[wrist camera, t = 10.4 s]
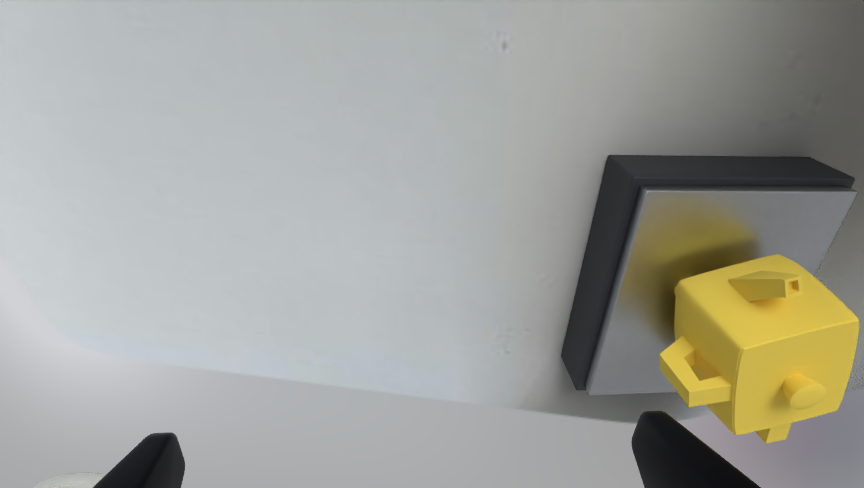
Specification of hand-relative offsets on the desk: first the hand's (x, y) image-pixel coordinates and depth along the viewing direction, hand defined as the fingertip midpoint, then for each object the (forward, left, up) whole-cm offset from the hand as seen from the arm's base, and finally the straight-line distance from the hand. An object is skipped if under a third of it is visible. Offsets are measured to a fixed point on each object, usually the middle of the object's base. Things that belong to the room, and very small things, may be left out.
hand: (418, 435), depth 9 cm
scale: (-4, -13, -12) cm, 18 cm away
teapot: (-4, -13, -9) cm, 16 cm away
